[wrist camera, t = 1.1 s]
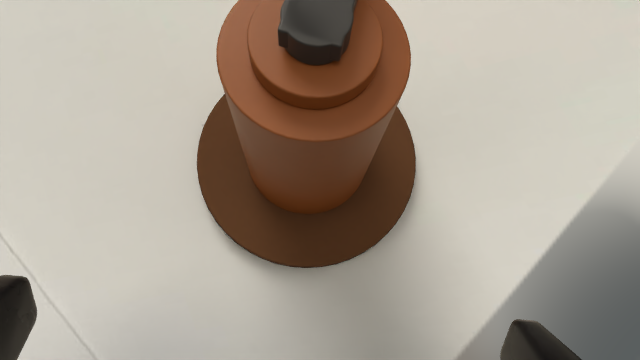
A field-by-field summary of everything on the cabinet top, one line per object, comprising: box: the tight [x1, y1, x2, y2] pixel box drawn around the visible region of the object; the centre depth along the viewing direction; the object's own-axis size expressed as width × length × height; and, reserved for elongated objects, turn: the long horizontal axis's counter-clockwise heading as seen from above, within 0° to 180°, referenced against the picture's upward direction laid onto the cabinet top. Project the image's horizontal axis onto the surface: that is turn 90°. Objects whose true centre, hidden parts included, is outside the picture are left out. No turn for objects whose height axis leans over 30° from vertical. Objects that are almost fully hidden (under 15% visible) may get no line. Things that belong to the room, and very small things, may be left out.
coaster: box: [197, 94, 416, 268], centre depth 24 cm, size 11×11×1 cm
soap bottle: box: [217, 0, 411, 214], centre depth 18 cm, size 7×6×11 cm
